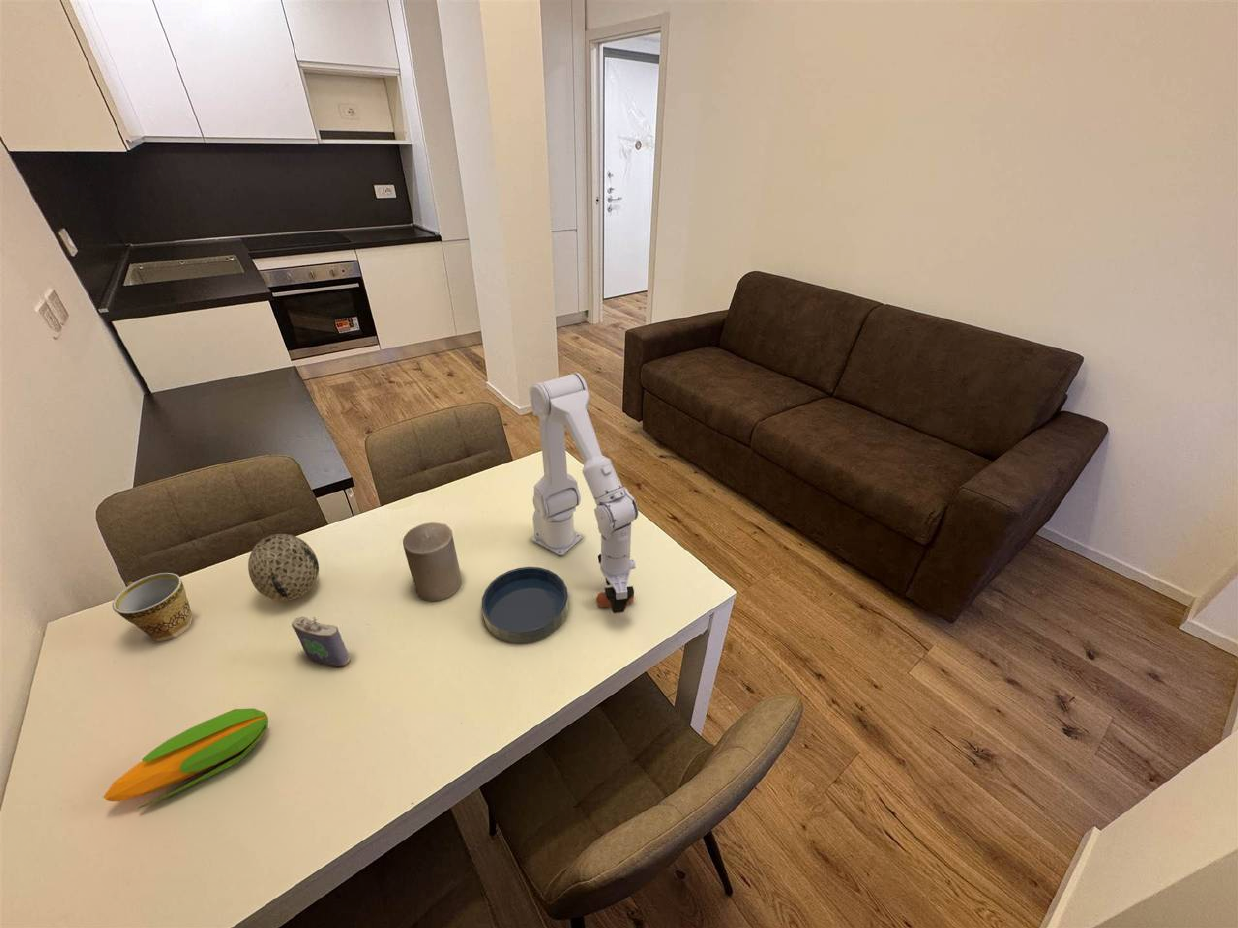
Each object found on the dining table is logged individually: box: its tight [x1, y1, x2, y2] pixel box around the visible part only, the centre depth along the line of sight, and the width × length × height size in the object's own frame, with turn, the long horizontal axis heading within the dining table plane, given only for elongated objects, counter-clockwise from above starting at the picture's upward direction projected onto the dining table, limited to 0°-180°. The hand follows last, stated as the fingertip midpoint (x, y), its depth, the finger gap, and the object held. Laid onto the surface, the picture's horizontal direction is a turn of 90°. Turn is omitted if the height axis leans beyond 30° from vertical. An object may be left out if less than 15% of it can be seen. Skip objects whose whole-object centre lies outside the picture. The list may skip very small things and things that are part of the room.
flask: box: [291, 616, 352, 668], centre depth 92 cm, size 9×3×11 cm, turn 74°
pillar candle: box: [402, 521, 462, 602], centre depth 106 cm, size 10×10×15 cm
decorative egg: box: [247, 533, 320, 602], centre depth 104 cm, size 12×12×15 cm
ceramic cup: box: [112, 572, 194, 642], centre depth 98 cm, size 13×10×10 cm
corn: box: [102, 708, 269, 810], centre depth 76 cm, size 7×8×20 cm
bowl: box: [481, 566, 569, 645], centre depth 104 cm, size 17×17×4 cm
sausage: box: [595, 591, 635, 608], centre depth 106 cm, size 8×3×3 cm, turn 100°
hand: (614, 596), depth 106 cm, fingers open, 7 cm apart
